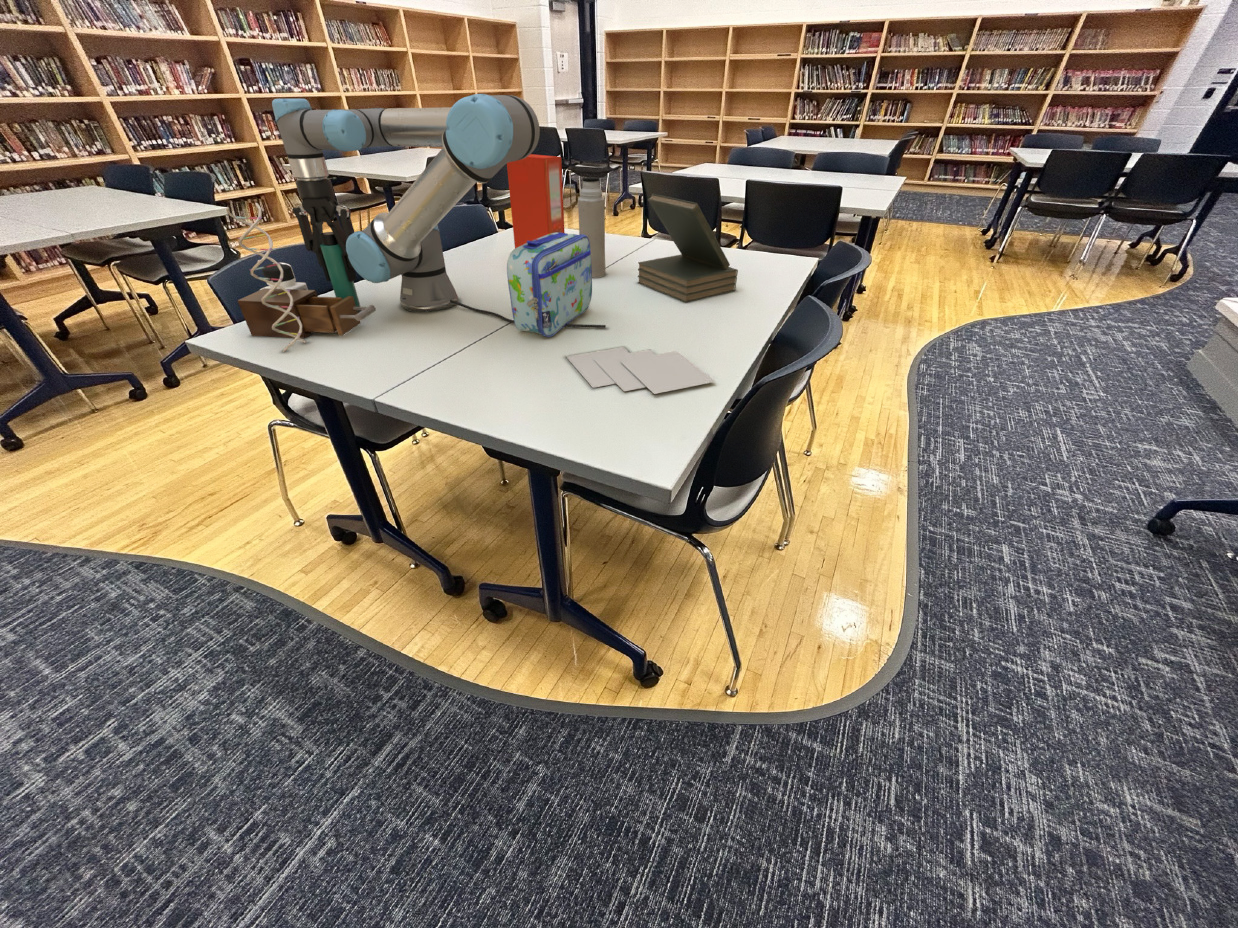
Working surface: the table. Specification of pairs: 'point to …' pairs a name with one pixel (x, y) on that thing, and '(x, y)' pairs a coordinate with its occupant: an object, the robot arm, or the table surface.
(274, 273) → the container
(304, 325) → the drawer
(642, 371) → the paper stack
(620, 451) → the table surface
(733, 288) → the book stack
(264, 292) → the cabinet
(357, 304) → the bottle
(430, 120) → the robot arm
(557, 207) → the file binder
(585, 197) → the thermos bottle
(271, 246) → the dna model
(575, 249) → the lunch box
